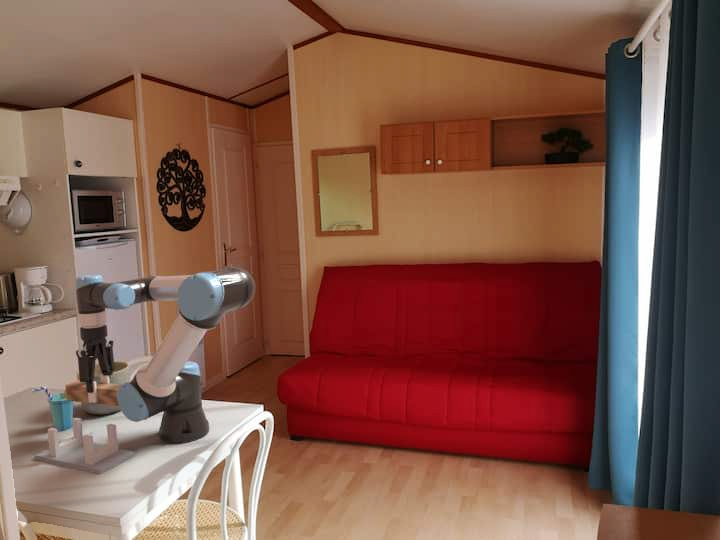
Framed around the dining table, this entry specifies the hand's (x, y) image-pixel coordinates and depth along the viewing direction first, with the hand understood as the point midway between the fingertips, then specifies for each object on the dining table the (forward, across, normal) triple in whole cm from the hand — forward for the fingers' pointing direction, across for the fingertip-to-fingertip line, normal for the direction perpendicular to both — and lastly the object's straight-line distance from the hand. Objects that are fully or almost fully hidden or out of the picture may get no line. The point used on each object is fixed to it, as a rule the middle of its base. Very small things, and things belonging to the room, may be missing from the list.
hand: (99, 398), depth 181 cm
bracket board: (+13, +13, +4) cm, 19 cm away
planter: (+13, -21, -16) cm, 30 cm away
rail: (+1, 0, 0) cm, 1 cm away
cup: (+13, -3, -20) cm, 24 cm away
